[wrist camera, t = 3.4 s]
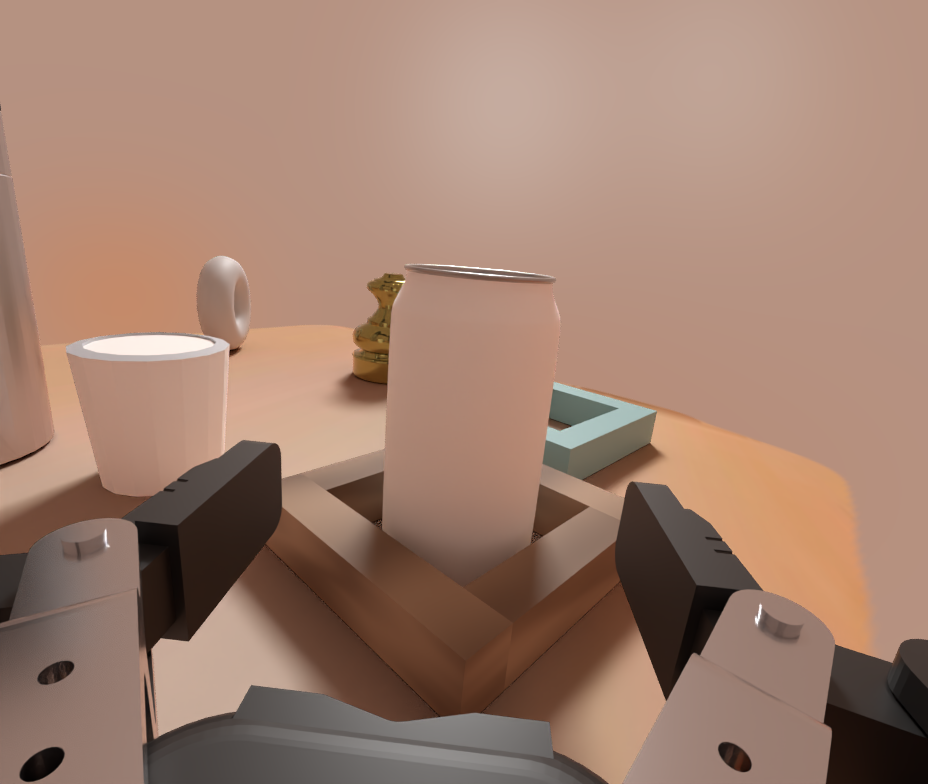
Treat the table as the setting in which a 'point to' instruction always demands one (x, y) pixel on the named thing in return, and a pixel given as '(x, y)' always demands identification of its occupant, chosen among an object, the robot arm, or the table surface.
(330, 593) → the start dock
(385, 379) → the gold tiered piece
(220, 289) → the donut
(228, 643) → the table surface
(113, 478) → the white cup
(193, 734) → the robot arm
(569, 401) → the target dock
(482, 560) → the can
